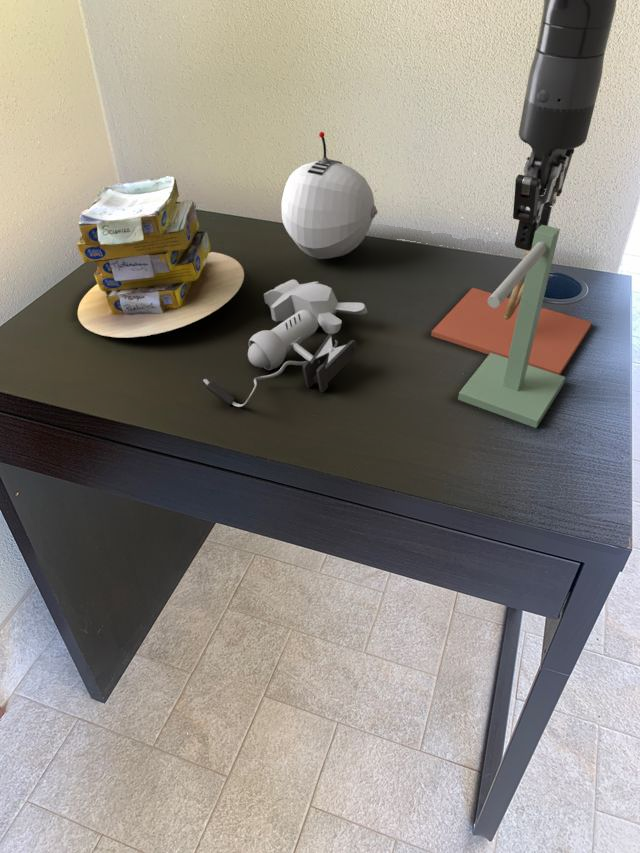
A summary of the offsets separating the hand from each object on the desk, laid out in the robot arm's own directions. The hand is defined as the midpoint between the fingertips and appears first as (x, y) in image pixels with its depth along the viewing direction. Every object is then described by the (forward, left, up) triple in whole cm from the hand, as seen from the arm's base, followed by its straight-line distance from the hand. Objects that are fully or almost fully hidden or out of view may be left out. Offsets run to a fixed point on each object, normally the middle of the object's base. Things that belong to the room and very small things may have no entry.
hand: (530, 240), depth 86 cm
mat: (0, 0, -14) cm, 14 cm away
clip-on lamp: (+21, +27, -14) cm, 36 cm away
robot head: (+34, -6, -14) cm, 37 cm away
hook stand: (-5, +17, -14) cm, 23 cm away
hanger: (0, -3, -8) cm, 9 cm away
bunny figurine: (+25, +13, -14) cm, 32 cm away
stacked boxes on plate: (+47, +20, -14) cm, 53 cm away
